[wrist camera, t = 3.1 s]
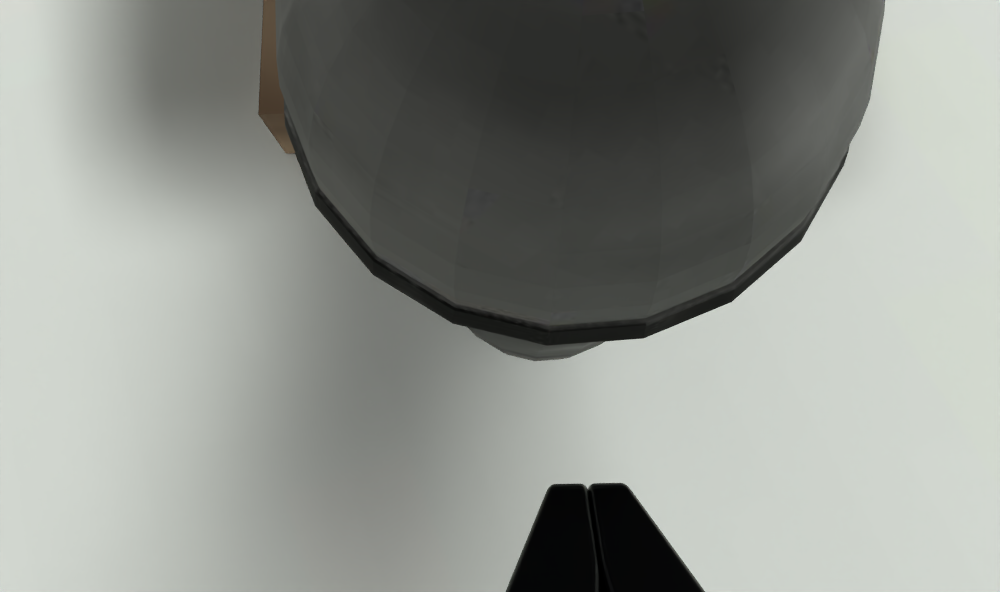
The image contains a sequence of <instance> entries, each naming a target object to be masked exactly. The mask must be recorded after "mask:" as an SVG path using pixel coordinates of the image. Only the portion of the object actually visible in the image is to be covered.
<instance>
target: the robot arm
mask: <svg viewBox="0 0 1000 592" xmlns="http://www.w3.org/2000/svg"><path fill="white" fill-rule="evenodd" d="M506 592H705V591H704V590H703V588H702V587H701V586H700V584H699V583H698V581H697V580H696V579H695V577H694V576H693V575H692V573H691V572H690V570H689V569H688V568H687V566H686V565H685V564H684V562H683V561H682V559H681V558H680V557H679V555H678V554H677V553H676V551H675V550H674V549H673V547H672V546H671V544H670V543H669V542H668V540H667V539H666V538H665V536H664V535H663V533H662V532H661V531H660V529H659V528H658V527H657V525H656V524H655V522H654V521H653V520H652V518H651V517H650V516H649V514H648V513H647V511H646V510H645V509H644V507H643V506H642V505H641V503H640V502H639V500H638V499H637V498H636V496H635V495H634V494H633V492H632V491H631V490H630V488H629V487H628V486H627V485H625V484H623V483H597V484H592V485H590V486H589V488H588V489H587V487H586V486H585V485H583V484H554V485H551V486H550V487H549V488H548V490H547V492H546V494H545V497H544V499H543V501H542V504H541V506H540V509H539V511H538V514H537V516H536V519H535V521H534V523H533V526H532V528H531V531H530V533H529V536H528V538H527V541H526V543H525V546H524V548H523V550H522V553H521V555H520V558H519V560H518V563H517V565H516V568H515V570H514V572H513V575H512V577H511V580H510V582H509V585H508V587H507V590H506Z"/></svg>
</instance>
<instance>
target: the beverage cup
mask: <svg viewBox="0 0 1000 592" xmlns="http://www.w3.org/2000/svg"><path fill="white" fill-rule="evenodd" d="M884 7H885V0H275V13H276V60H277V69H278V78H279V87H280V89H281V92H282V95H283V97H284V118H285V127H286V130H287V133H288V135H289V138H290V141H291V143H292V146H293V148H294V151H295V154H296V156H297V159H298V162H299V164H300V167H301V169H302V172H303V175H304V177H305V180H306V183H307V185H308V188H309V190H310V193H311V196H312V198H313V201H314V204H315V206H316V207H317V209H318V210H319V211H320V212H321V213H322V214H323V216H324V217H325V218H326V219H327V220H328V222H329V223H330V224H331V225H332V226H333V228H334V229H335V230H336V231H337V232H338V233H339V235H340V236H341V237H342V238H343V239H344V241H345V242H346V243H347V244H348V245H349V247H350V248H351V249H352V250H353V251H354V253H355V254H356V255H357V256H358V257H359V258H360V260H361V261H362V262H363V263H364V264H365V266H366V267H367V268H368V269H369V270H370V272H371V273H372V274H373V275H374V276H376V277H378V278H379V279H381V280H383V281H384V282H386V283H388V284H389V285H391V286H393V287H394V288H396V289H397V290H399V291H401V292H402V293H404V294H406V295H407V296H409V297H411V298H412V299H414V300H416V301H417V302H419V303H420V304H422V305H424V306H425V307H427V308H429V309H430V310H432V311H434V312H435V313H437V314H438V315H440V316H442V317H443V318H445V319H447V320H448V321H450V322H452V323H453V324H458V325H462V326H466V327H468V328H469V329H470V330H471V331H472V332H473V333H474V334H475V335H476V336H477V337H479V338H480V339H482V340H484V341H485V342H487V343H488V344H490V345H492V346H493V347H495V348H497V349H498V350H500V351H502V352H503V353H506V354H508V355H512V356H516V357H520V358H524V359H528V360H533V361H541V360H554V359H563V358H569V357H572V356H574V355H576V354H579V353H581V352H584V351H586V350H589V349H591V348H593V347H596V346H598V345H600V344H602V343H603V342H605V341H614V340H627V339H640V338H645V337H648V336H650V335H653V334H655V333H657V332H660V331H662V330H665V329H667V328H669V327H672V326H674V325H677V324H679V323H682V322H684V321H686V320H689V319H691V318H694V317H696V316H698V315H701V314H703V313H706V312H708V311H711V310H713V309H715V308H718V307H720V306H723V305H725V304H728V303H730V302H732V301H733V300H734V299H735V298H736V297H738V296H739V295H740V294H741V293H742V292H743V291H745V290H746V289H747V288H748V287H749V286H750V285H751V284H753V283H754V282H755V281H756V280H757V279H758V278H759V277H761V276H762V275H763V274H764V273H765V272H766V271H767V270H769V269H770V268H771V267H772V266H773V265H774V264H775V263H777V262H778V261H779V260H780V259H781V258H782V257H783V256H785V255H786V254H787V253H788V252H789V251H790V250H791V249H793V248H794V247H795V246H796V245H797V244H798V243H800V242H801V240H802V238H803V236H804V235H805V233H806V231H807V229H808V228H809V226H810V224H811V222H812V221H813V219H814V217H815V215H816V213H817V212H818V210H819V208H820V206H821V205H822V203H823V201H824V199H825V198H826V196H827V194H828V192H829V190H830V189H831V187H832V185H833V183H834V182H835V180H836V178H837V176H838V174H839V173H840V171H841V169H842V167H843V166H844V163H845V160H846V157H847V153H848V150H849V144H850V142H851V141H852V139H853V137H854V135H855V134H856V132H857V130H858V128H859V127H860V124H861V121H862V119H863V116H864V113H865V111H866V108H867V106H868V103H869V100H870V95H871V89H872V83H873V77H874V71H875V65H876V59H877V53H878V47H879V41H880V34H881V28H882V22H883V16H884Z"/></svg>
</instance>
